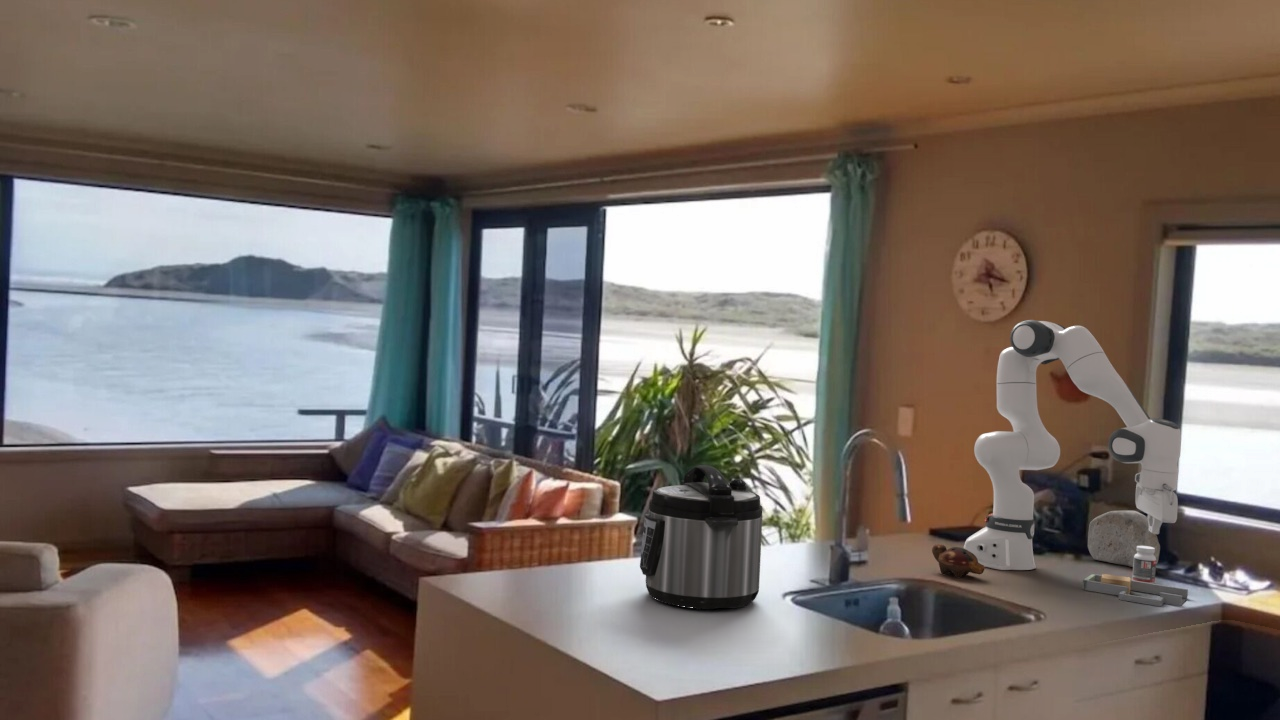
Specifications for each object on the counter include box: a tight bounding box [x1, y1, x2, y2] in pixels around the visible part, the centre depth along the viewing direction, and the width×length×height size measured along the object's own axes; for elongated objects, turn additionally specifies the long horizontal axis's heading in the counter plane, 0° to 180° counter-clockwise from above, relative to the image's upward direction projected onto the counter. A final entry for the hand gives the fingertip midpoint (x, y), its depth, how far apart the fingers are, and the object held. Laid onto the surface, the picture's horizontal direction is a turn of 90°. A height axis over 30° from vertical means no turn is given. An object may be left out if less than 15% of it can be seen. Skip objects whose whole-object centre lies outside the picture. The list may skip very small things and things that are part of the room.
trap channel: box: [1082, 573, 1189, 607], centre depth 299 cm, size 24×16×2 cm, turn 56°
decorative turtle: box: [931, 543, 986, 578], centre depth 313 cm, size 10×15×8 cm, turn 56°
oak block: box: [1101, 573, 1132, 595], centre depth 303 cm, size 7×6×4 cm
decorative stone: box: [1087, 509, 1161, 568], centre depth 342 cm, size 17×20×10 cm
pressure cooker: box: [639, 464, 763, 610], centre depth 269 cm, size 30×28×32 cm
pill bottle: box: [1131, 546, 1157, 584], centre depth 317 cm, size 6×6×10 cm
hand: (1153, 533), depth 299 cm, fingers closed
